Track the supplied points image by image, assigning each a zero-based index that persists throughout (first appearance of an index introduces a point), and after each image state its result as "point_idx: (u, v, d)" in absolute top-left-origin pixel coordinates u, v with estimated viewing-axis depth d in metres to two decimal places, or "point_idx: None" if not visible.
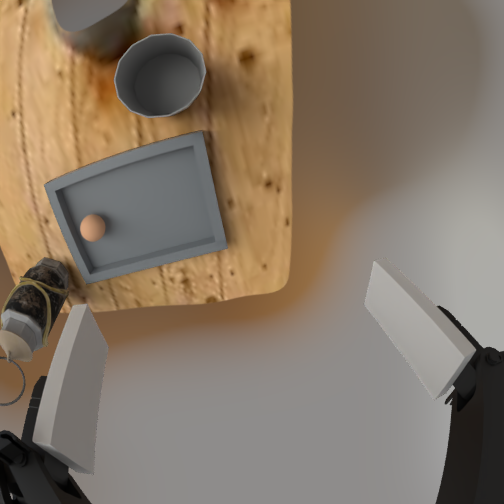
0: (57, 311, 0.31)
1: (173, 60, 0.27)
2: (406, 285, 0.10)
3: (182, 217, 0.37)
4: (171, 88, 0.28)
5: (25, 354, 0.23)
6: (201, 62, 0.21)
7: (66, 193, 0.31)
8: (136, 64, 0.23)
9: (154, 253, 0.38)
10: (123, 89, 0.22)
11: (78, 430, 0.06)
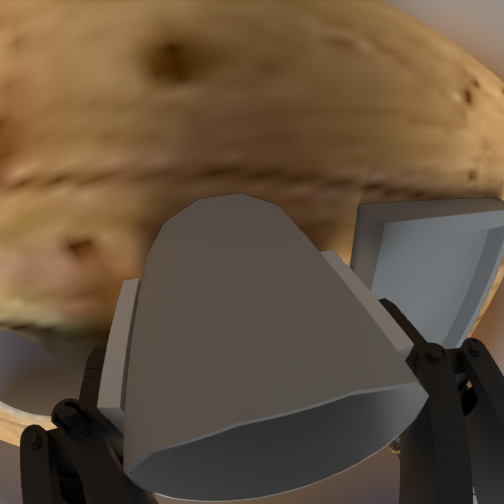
0: None
1: None
2: (347, 276, 0.11)
3: (459, 259, 0.18)
4: None
5: None
6: (254, 348, 0.05)
7: None
8: None
9: (467, 304, 0.20)
10: (265, 440, 0.10)
11: None
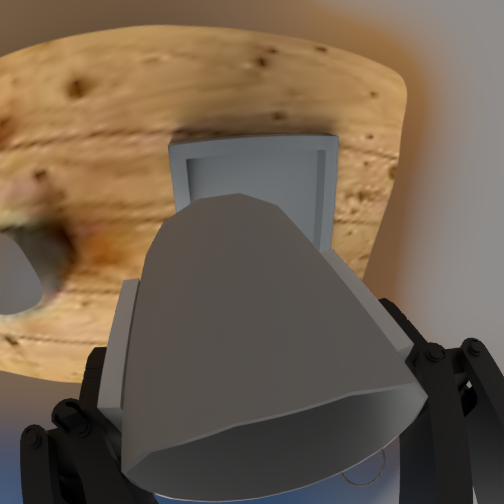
0: None
1: None
2: (347, 276, 0.11)
3: (282, 181, 0.28)
4: None
5: None
6: (252, 348, 0.05)
7: None
8: None
9: (316, 226, 0.31)
10: (264, 440, 0.10)
11: None
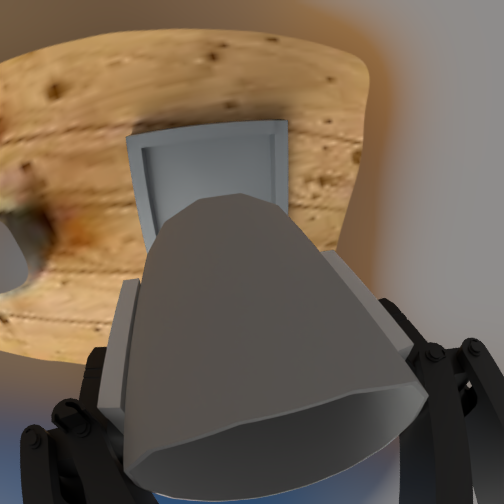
0: None
1: None
2: (347, 276, 0.11)
3: (235, 166, 0.29)
4: None
5: None
6: None
7: None
8: None
9: None
10: (265, 440, 0.10)
11: None
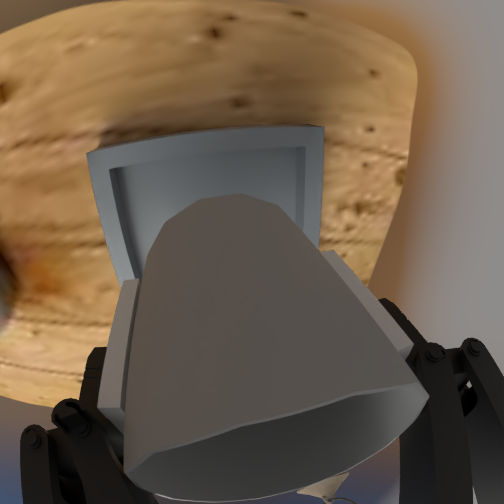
0: None
1: None
2: (347, 276, 0.11)
3: (246, 192, 0.21)
4: None
5: (337, 481, 0.19)
6: (255, 349, 0.05)
7: None
8: None
9: None
10: (266, 440, 0.10)
11: None
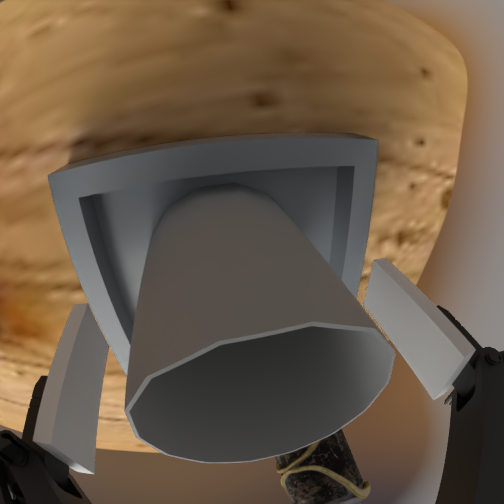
0: (341, 451, 0.21)
1: None
2: (405, 285, 0.10)
3: None
4: None
5: None
6: None
7: None
8: None
9: None
10: (255, 407, 0.12)
11: (78, 429, 0.06)
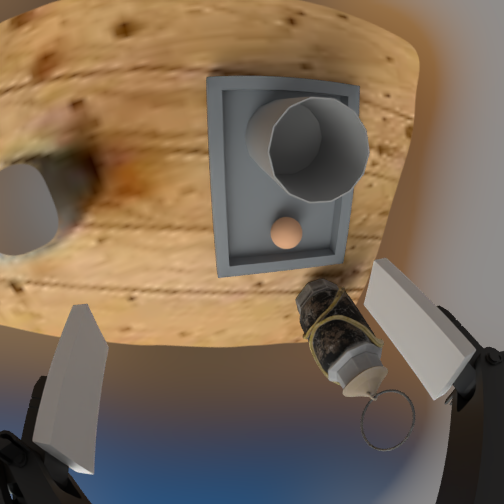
0: (356, 310, 0.33)
1: None
2: (406, 285, 0.10)
3: None
4: (293, 133, 0.27)
5: (379, 374, 0.26)
6: None
7: (237, 252, 0.34)
8: (265, 169, 0.25)
9: None
10: (307, 191, 0.24)
11: (78, 430, 0.06)
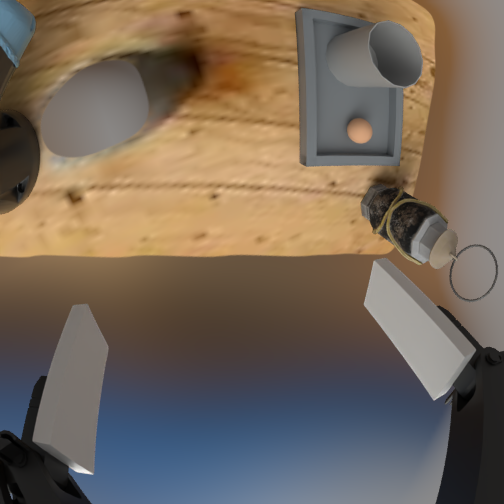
0: None
1: None
2: (406, 285, 0.10)
3: None
4: None
5: (454, 239, 0.28)
6: (384, 24, 0.21)
7: (318, 148, 0.36)
8: (350, 72, 0.27)
9: (391, 90, 0.32)
10: None
11: (78, 430, 0.06)
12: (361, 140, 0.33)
